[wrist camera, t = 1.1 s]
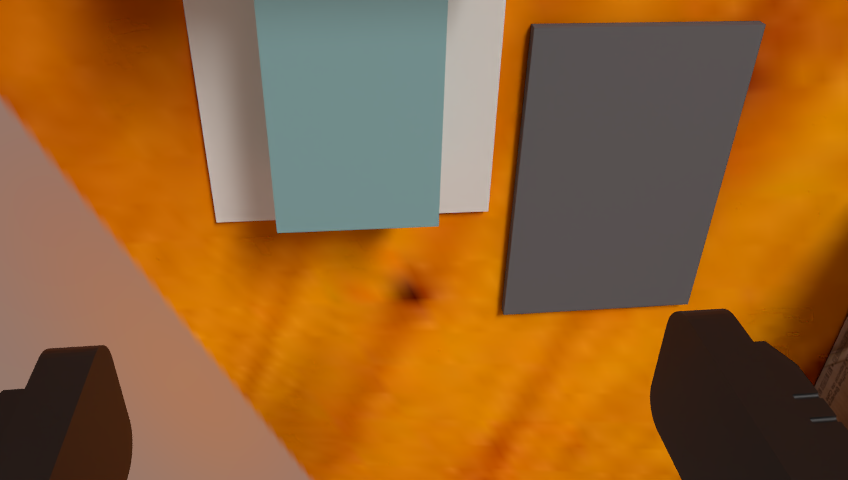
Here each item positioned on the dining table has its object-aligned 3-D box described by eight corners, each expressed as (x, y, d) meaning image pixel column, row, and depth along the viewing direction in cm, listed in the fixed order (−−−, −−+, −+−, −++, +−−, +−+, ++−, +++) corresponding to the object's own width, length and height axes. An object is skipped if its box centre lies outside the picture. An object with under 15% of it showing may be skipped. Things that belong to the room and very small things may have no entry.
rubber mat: (531, 23, 25) (534, 27, 24) (759, 21, 26) (765, 24, 25) (501, 308, 31) (503, 314, 31) (684, 298, 32) (687, 304, 32)
